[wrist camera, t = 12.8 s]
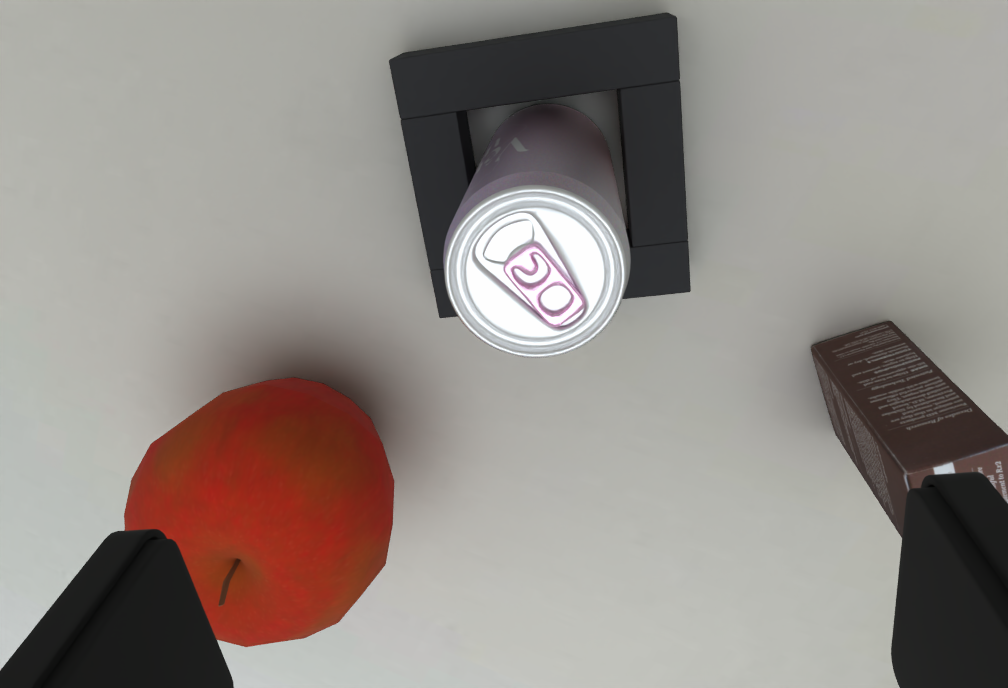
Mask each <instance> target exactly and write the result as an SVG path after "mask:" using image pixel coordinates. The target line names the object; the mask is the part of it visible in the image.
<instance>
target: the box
mask: <svg viewBox="0 0 1008 688" xmlns="http://www.w3.org/2000/svg"><path fill="white" fill-rule="evenodd" d="M811 351H812V355H813V359H814V363H815V366H816V370H817V373H818V377H819V380H820V384H821V388H822V391H823V394H824V398H825V401H826V405H827V408H828V411H829V415H830V418H831V421H832V425H833V428H834V431H835V434H836V436H837V437H838V439H839V440H840V442H841V444H842V445H843V447H844V448H845V450H846V451H847V453H848V455H849V456H850V458H851V459H852V461H853V462H854V464H855V465H856V467H857V468H858V470H859V472H860V473H861V475H862V476H863V478H864V479H865V481H866V482H867V484H868V485H869V487H870V489H871V490H872V492H873V494H874V495H875V497H876V498H877V499H878V501H879V503H880V504H881V506H882V508H883V509H884V511H885V512H886V514H887V515H888V517H889V518H890V520H891V522H892V523H893V525H894V526H895V528H896V530H897V531H898V533H899V534H900V536H901V537H903V526H904V516H905V506H906V498H907V493H908V491H909V490H910V489H912V488H921V485H922V481H923V479H924V478H925V477H926V476H928V475H935V474H950V473H964V472H979V473H982V474H983V475H984V476H985V477H987V478H988V480H989V481H990V482H991V483H992V485H993V486H994V487H995V488H996V489H997V491H998V492H999V493H1000V494H1001V496H1002V497H1003V498H1004V499H1005V501H1006V502H1007V503H1008V435H1007V434H1006V433H1005V432H1004V431H1003V430H1002V429H1001V428H1000V427H998V426H997V425H996V423H994V422H993V421H992V420H991V419H990V418H989V417H988V416H987V415H986V414H985V413H984V412H983V411H982V410H981V409H980V408H979V407H978V406H977V405H976V404H975V403H974V402H973V401H972V400H971V399H970V398H969V397H968V396H967V395H966V394H965V393H964V392H963V391H962V390H961V389H960V388H959V387H958V386H956V385H955V384H954V383H953V382H952V381H951V380H950V379H949V378H948V377H947V376H946V375H945V374H944V373H943V372H942V371H941V370H940V369H939V368H938V367H937V366H936V365H935V364H934V363H933V362H932V361H931V360H930V359H929V358H928V357H927V356H926V355H925V354H924V353H923V352H922V351H921V350H920V349H919V348H918V347H917V346H916V345H915V344H914V343H913V342H912V341H911V340H910V339H909V338H908V337H907V336H906V335H905V334H904V333H903V332H902V331H901V330H900V329H899V328H898V327H897V326H896V325H894V323H893V322H892V321H888V322H885V323H881V324H878V325H874V326H871V327H868V328H865V329H861V330H858V331H855V332H852V333H848V334H846V335H843V336H839V337H836V338H833V339H831V340H828V341H824V342H822V343H819V344H816V345H813V346H812V347H811Z"/></svg>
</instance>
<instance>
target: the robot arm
mask: <svg viewBox="0 0 1008 688" xmlns="http://www.w3.org/2000/svg"><path fill="white" fill-rule="evenodd" d="M891 656H892V664H893V669H894V673H895V677H896V679H897V682H898V685H899V687H900V688H1008V503H1007V502H1006V501H1005V499H1004V498H1003V497H1002V496H1001V494H1000V493H999V492H998V491H997V489H996V488H995V487H994V486H993V485H992V483H991V482H990V481H989V480H988V478H987V477H985V476H984V475H983V474H982V473H979V472H964V473H950V474H935V475H928V476H926V477H925V478H924V479H923V481H922V485H921V488H912V489H910V490H909V491H908V493H907V498H906V506H905V516H904V526H903V537H902V547H901V557H900V567H899V577H898V587H897V597H896V607H895V617H894V627H893V637H892V648H891ZM0 688H234V687H233V680H232V677H231V674H230V672H229V669H228V667H227V664H226V662H225V659H224V657H223V654H222V652H221V650H220V647H219V645H218V642H217V640H216V637H215V635H214V632H213V630H212V628H211V625H210V623H209V620H208V618H207V615H206V613H205V610H204V608H203V606H202V603H201V601H200V598H199V596H198V593H197V591H196V588H195V586H194V583H193V581H192V579H191V576H190V574H189V571H188V569H187V566H186V564H185V561H184V559H183V557H182V554H181V552H180V549H179V547H178V545H177V543H176V542H175V541H174V540H172V539H167V538H166V536H165V534H164V533H163V532H162V531H160V530H158V529H143V530H129V531H117V532H114V533H111V534H110V535H109V536H108V537H107V538H106V539H105V540H104V541H103V542H102V544H101V545H100V546H99V547H98V549H97V550H96V551H95V552H94V554H93V555H92V556H91V557H90V559H89V560H88V561H87V562H86V564H85V565H84V566H83V567H82V569H81V570H80V571H79V572H78V574H77V575H76V576H75V578H74V579H73V580H72V581H71V583H70V584H69V585H68V586H67V588H66V589H65V590H64V591H63V593H62V594H61V595H60V596H59V598H58V599H57V600H56V601H55V603H54V604H53V605H52V606H51V608H50V609H49V610H48V611H47V613H46V614H45V615H44V616H43V618H42V619H41V620H40V621H39V623H38V624H37V625H36V626H35V628H34V629H33V630H32V631H31V633H30V634H29V635H28V637H27V638H26V639H25V640H24V642H23V643H22V644H21V645H20V647H19V648H18V649H17V650H16V652H15V653H14V654H13V655H12V657H11V658H10V659H9V660H8V662H7V663H6V664H5V665H4V667H3V668H2V669H1V670H0Z"/></svg>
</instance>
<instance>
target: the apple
mask: <svg viewBox="0 0 1008 688" xmlns="http://www.w3.org/2000/svg"><path fill="white" fill-rule="evenodd" d="M393 501H394V479H393V476H392V473H391V470H390V466H389V463H388V460H387V457H386V454H385V450H384V447H383V444H382V442H381V439H380V437H379V435H378V433H377V431H376V429H375V427H374V425H373V423H372V421H371V418H370V417H369V416H368V415H367V414H365V413H364V412H363V411H362V410H361V409H360V408H359V407H358V406H357V405H356V404H355V403H354V402H353V401H352V400H351V399H350V398H348V397H346V396H344V395H343V394H341V393H339V392H337V391H336V390H334V389H332V388H330V387H329V386H327V385H325V384H323V383H318V382H314V381H309V380H304V379H299V378H295V377H294V378H285V379H277V380H268V381H263V382H260V383H256V384H252V385H249V386H245V387H242V388H238V389H234V390H231V391H227V392H223V393H222V394H220V395H219V396H217V397H216V398H215V399H213V400H212V401H210V402H209V403H207V404H206V405H205V406H203V407H202V408H200V409H199V410H197V411H196V412H195V413H193V414H192V415H190V416H189V417H188V418H186V419H185V420H184V421H182V422H181V423H179V424H178V425H177V426H175V427H174V428H172V429H171V430H170V431H168V432H167V433H166V434H164V435H163V436H161V437H160V438H159V439H157V440H156V441H154V442H153V443H152V444H151V445H150V447H149V449H148V450H147V452H146V454H145V456H144V458H143V459H142V461H141V463H140V465H139V467H138V469H137V470H136V472H135V474H134V476H133V478H132V480H131V485H130V490H129V494H128V499H127V504H126V509H125V513H124V519H125V531H129V530H143V529H158V530H160V531H162V532H163V533H164V534H165V536H166V538H167V539H172V540H174V541H175V542H176V543H177V545H178V547H179V549H180V552H181V554H182V557H183V559H184V561H185V564H186V566H187V569H188V571H189V574H190V576H191V579H192V581H193V583H194V586H195V588H196V591H197V593H198V596H199V598H200V601H201V603H202V606H203V608H204V610H205V613H206V615H207V618H208V620H209V623H210V625H211V628H212V630H213V632H214V635H215V637H216V639H217V640H221V641H225V642H229V643H233V644H236V645H240V646H244V647H249V646H255V645H261V644H268V643H274V642H281V641H288V640H295V639H302V638H306V637H308V636H310V635H312V634H314V633H317V632H319V631H321V630H323V629H325V628H327V627H330V626H332V625H334V624H336V623H338V622H339V621H340V620H341V619H342V617H343V616H344V615H345V614H346V613H347V612H348V610H349V609H350V608H351V607H352V606H353V604H354V603H355V602H356V601H357V600H358V599H359V597H360V596H361V595H362V594H363V592H364V591H365V590H366V589H367V587H368V586H369V585H370V584H371V582H372V581H373V580H374V578H375V577H376V576H377V575H378V573H379V572H380V571H381V570H382V568H383V567H384V566H385V564H386V558H387V553H388V547H389V542H390V536H391V530H392V525H393Z"/></svg>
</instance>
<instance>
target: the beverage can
mask: <svg viewBox="0 0 1008 688" xmlns="http://www.w3.org/2000/svg"><path fill="white" fill-rule="evenodd" d="M630 263H631V258H630V247H629V242H628V237H627V233H626V228H625V223H624V218H623V213H622V208H621V204H620V199H619V194H618V189H617V184H616V179H615V174H614V170H613V165H612V160H611V155H610V151H609V147H608V145H607V142H606V140H605V138H604V136H603V134H602V133H601V131H600V130H599V128H598V127H597V126H596V125H595V124H594V123H593V122H592V121H591V120H590V119H589V118H588V117H586V116H585V115H584V114H582V113H580V112H579V111H577V110H575V109H572V108H570V107H567V106H563V105H557V104H539V105H534V106H530V107H527V108H524V109H522V110H520V111H518V112H516V113H515V114H513V115H512V116H510V117H509V118H508V119H506V120H505V121H504V122H503V123H502V124H501V125H500V127H499V128H498V129H497V130H496V132H495V133H494V135H493V137H492V139H491V141H490V143H489V145H488V147H487V149H486V151H485V153H484V155H483V157H482V160H481V162H480V164H479V166H478V168H477V170H476V172H475V174H474V176H473V179H472V181H471V183H470V185H469V187H468V189H467V191H466V193H465V195H464V198H463V200H462V202H461V204H460V206H459V208H458V210H457V212H456V214H455V217H454V219H453V221H452V223H451V225H450V227H449V230H448V233H447V236H446V240H445V245H444V253H443V264H444V273H445V283H446V288H447V293H448V296H449V299H450V301H451V304H452V306H453V308H454V310H455V312H456V314H457V315H458V317H459V318H460V320H461V321H462V322H463V324H464V325H465V326H466V327H467V328H468V329H469V330H470V331H471V332H472V333H473V334H474V335H475V336H476V337H478V338H479V339H480V340H482V341H483V342H485V343H486V344H488V345H490V346H492V347H493V348H496V349H498V350H500V351H503V352H505V353H509V354H512V355H516V356H522V357H531V358H542V357H551V356H557V355H561V354H564V353H567V352H570V351H573V350H575V349H577V348H579V347H581V346H583V345H585V344H586V343H588V342H590V341H591V340H592V339H594V338H595V337H596V336H597V335H598V334H600V333H601V332H602V331H603V330H604V329H605V327H606V326H607V325H608V324H609V323H610V321H611V320H612V318H613V317H614V315H615V313H616V312H617V310H618V308H619V306H620V303H621V301H622V298H623V295H624V292H625V289H626V286H627V283H628V279H629V274H630Z"/></svg>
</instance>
